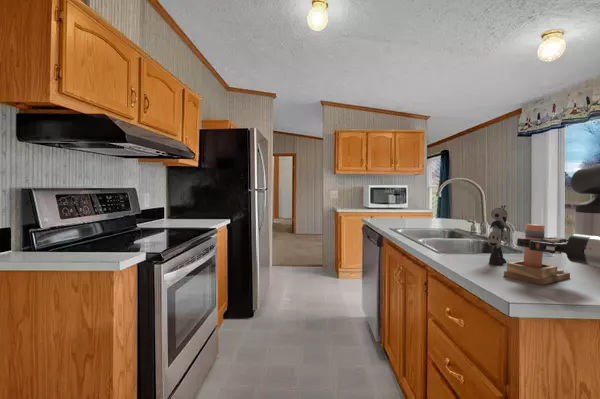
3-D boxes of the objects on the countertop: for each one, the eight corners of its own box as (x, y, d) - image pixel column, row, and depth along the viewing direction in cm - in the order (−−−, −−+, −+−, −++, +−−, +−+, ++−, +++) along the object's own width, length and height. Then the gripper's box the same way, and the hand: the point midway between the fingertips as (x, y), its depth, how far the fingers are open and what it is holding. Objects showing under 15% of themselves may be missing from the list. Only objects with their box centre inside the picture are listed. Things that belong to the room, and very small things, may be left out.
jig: (533, 270, 110) (533, 257, 110) (569, 277, 101) (570, 264, 101) (503, 276, 102) (504, 262, 102) (540, 285, 94) (541, 270, 93)
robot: (496, 257, 128) (498, 203, 127) (511, 259, 125) (513, 204, 124) (481, 266, 113) (484, 206, 112) (498, 269, 110) (501, 206, 109)
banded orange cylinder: (527, 270, 103) (531, 223, 103) (544, 274, 99) (548, 225, 99) (519, 271, 101) (522, 224, 100) (536, 275, 97) (539, 226, 96)
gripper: (607, 234, 91) (539, 226, 105) (581, 237, 84) (512, 229, 98) (605, 262, 91) (538, 251, 105) (579, 268, 84) (511, 255, 98)
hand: (526, 240), depth 101 cm, fingers open, 8 cm apart
